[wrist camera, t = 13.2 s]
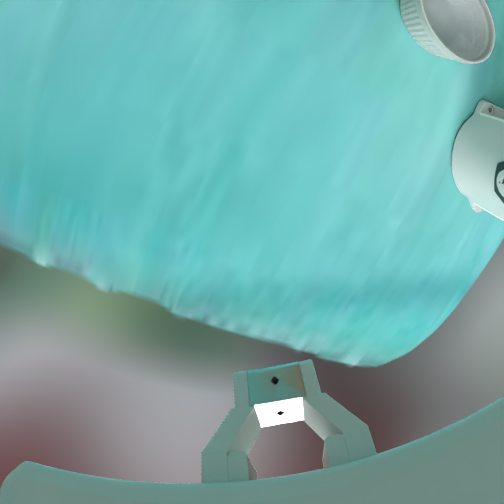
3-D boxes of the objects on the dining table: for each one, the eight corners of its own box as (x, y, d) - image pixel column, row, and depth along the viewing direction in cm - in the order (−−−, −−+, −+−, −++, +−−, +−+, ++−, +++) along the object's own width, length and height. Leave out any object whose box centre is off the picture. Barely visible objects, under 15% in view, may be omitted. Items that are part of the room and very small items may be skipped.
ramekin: (419, -36, 21) (447, -47, 15) (476, 31, 26) (507, 31, 20) (373, 9, 26) (400, -1, 20) (438, 80, 31) (470, 84, 25)
